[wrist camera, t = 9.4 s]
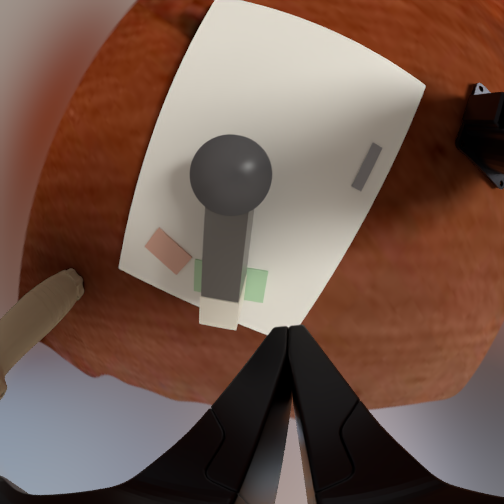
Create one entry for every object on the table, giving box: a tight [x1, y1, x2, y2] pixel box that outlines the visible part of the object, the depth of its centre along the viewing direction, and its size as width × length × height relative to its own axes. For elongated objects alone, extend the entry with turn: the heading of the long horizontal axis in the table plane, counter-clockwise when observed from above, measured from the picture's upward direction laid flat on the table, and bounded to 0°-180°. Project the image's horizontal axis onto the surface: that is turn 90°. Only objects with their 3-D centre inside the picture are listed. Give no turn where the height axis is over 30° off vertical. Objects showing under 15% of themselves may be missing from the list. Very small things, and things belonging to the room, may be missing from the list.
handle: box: [0, 268, 84, 400], centre depth 16 cm, size 5×6×15 cm
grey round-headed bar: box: [190, 134, 272, 330], centre depth 16 cm, size 11×4×4 cm, turn 173°
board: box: [119, 0, 426, 335], centre depth 17 cm, size 15×22×1 cm
